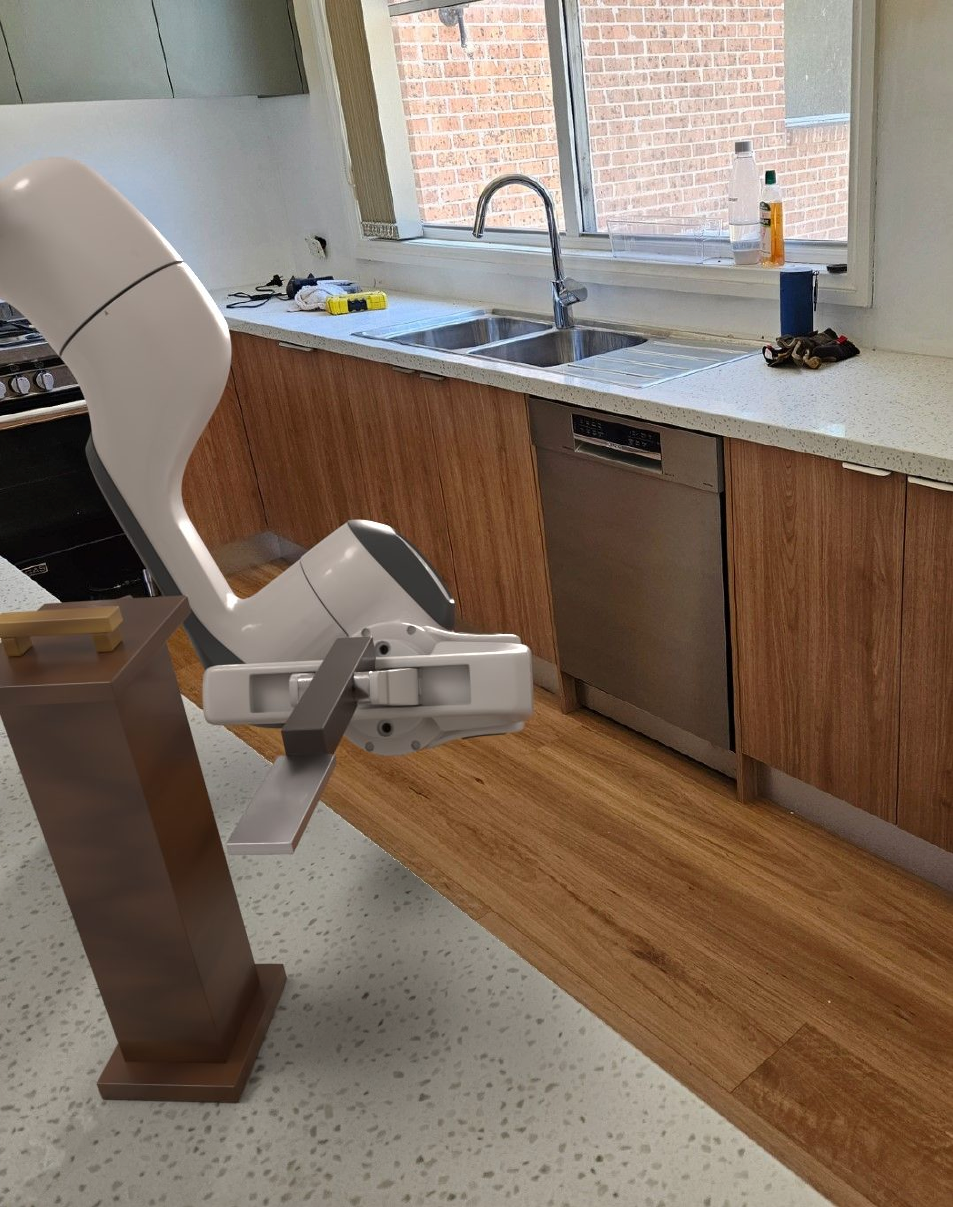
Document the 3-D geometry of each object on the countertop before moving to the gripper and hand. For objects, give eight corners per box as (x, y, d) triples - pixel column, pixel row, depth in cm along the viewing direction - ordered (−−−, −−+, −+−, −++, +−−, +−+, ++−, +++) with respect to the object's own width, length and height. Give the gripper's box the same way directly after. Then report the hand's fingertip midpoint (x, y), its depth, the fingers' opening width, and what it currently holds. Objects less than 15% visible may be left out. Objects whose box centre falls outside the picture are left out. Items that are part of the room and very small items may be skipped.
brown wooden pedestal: (101, 1099, 59) (-68, 654, 47) (165, 977, 67) (34, 571, 55) (239, 1102, 58) (99, 645, 46) (287, 978, 66) (179, 562, 54)
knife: (228, 855, 47) (218, 817, 46) (335, 668, 64) (329, 638, 63) (293, 854, 46) (285, 815, 46) (384, 666, 63) (379, 635, 63)
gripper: (248, 648, 74) (154, 641, 60) (543, 633, 70) (514, 621, 57) (250, 741, 73) (156, 754, 60) (548, 730, 70) (520, 741, 56)
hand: (333, 689), depth 58 cm, fingers closed on knife, 2 cm apart
